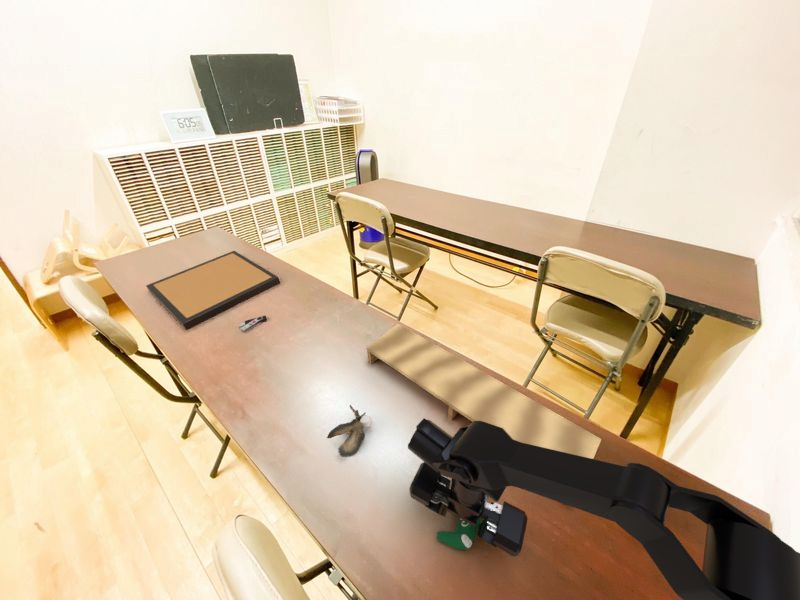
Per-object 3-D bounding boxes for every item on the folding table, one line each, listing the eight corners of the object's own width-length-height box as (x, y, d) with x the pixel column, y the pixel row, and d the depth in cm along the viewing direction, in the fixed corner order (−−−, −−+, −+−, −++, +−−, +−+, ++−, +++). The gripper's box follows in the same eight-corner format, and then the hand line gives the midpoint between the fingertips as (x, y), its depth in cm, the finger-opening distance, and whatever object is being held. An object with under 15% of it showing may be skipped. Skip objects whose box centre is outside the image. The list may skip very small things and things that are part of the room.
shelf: (591, 454, 69) (601, 439, 66) (570, 504, 62) (580, 490, 58) (398, 338, 100) (398, 323, 96) (368, 362, 92) (366, 347, 88)
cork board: (236, 256, 145) (149, 291, 124) (234, 250, 144) (145, 285, 123) (280, 283, 127) (186, 330, 106) (278, 277, 125) (182, 323, 104)
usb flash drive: (266, 316, 110) (265, 314, 109) (268, 325, 106) (267, 323, 105) (239, 324, 107) (238, 322, 106) (240, 334, 103) (239, 331, 102)
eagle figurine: (342, 411, 78) (320, 440, 71) (356, 398, 74) (334, 426, 67) (365, 433, 78) (346, 463, 70) (380, 421, 74) (361, 452, 66)
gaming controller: (445, 551, 58) (470, 560, 53) (433, 536, 57) (457, 544, 53) (466, 503, 64) (490, 508, 59) (455, 489, 63) (478, 493, 59)
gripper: (543, 466, 51) (523, 506, 61) (435, 417, 59) (433, 460, 68) (529, 539, 44) (509, 573, 53) (407, 473, 51) (408, 512, 60)
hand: (461, 523), depth 59 cm, fingers closed on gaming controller, 6 cm apart
